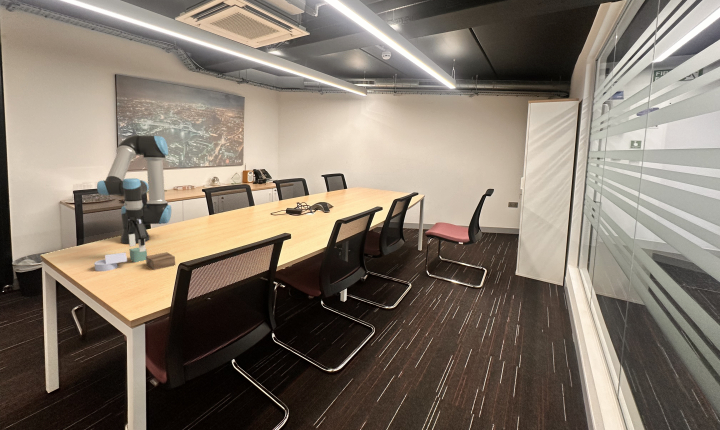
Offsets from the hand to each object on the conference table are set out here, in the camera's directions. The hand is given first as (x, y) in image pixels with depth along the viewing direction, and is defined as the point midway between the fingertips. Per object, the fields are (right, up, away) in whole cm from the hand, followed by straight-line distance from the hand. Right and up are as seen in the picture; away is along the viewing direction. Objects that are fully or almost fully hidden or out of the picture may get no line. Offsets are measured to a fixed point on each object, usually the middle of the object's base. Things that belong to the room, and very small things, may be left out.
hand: (137, 248), depth 185 cm
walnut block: (+15, -8, -5) cm, 18 cm away
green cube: (0, -6, +2) cm, 6 cm away
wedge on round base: (-7, -9, -10) cm, 15 cm away
